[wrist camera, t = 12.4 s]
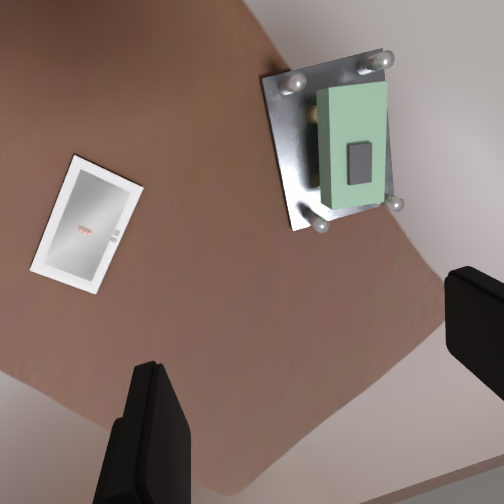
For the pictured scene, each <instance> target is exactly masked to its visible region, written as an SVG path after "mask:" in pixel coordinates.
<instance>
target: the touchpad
mask: <svg viewBox="0 0 504 504" xmlns="http://www.w3.org/2000/svg"><path fill="white" fill-rule="evenodd" d="M142 190H143V187H141V186H139V185H137V184H135V183H132V182H130V181H128V180H126V179H124V178H122V177H120V176H118V175H116V174H113V173H111V172H109V171H107V170H105V169H103V168H101V167H99V166H97V165H95V164H92V163H90V162H88V161H86V160H84V159H82V158H80V157H78V156H76V155H74V157H73V160H72V162H71V165H70V168H69V170H68V173H67V175H66V178H65V181H64V183H63V186H62V188H61V191H60V193H59V196H58V199H57V201H56V204H55V206H54V209H53V212H52V214H51V217H50V219H49V222H48V225H47V227H46V230H45V232H44V235H43V237H42V240H41V243H40V245H39V248H38V250H37V253H36V256H35V258H34V261H33V263H32V266H31V268H30V271H33V272H35V273H38V274H41V275H44V276H46V277H49V278H52V279H55V280H57V281H60V282H63V283H66V284H68V285H71V286H74V287H77V288H79V289H82V290H85V291H88V292H90V293H93V294H96V293H97V291H98V288H99V286H100V284H101V282H102V280H103V277H104V275H105V273H106V271H107V268H108V266H109V264H110V262H111V259H112V257H113V255H114V253H115V251H116V248H117V246H118V244H119V242H120V239H121V237H122V235H123V233H124V231H125V228H126V226H127V224H128V222H129V219H130V217H131V215H132V213H133V210H134V208H135V206H136V204H137V202H138V199H139V197H140V195H141V193H142Z"/></svg>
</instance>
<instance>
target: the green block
mask: <svg viewBox="0 0 504 504" xmlns="http://www.w3.org/2000/svg"><path fill="white" fill-rule="evenodd" d="M387 86H388V81H383V82H374V83H365V84H356V85H348V86H339V87H330V88H325V89H322V90H318V91H316V96H317V122H318V147H319V172H320V197H321V204H323V205H325V206H326V207H328V208H330V209H331V210H335V209H342V208H348V207H354V206H361V205H367V204H374V203H380V202H384V192H385V157H386V123H387V88H388V87H387Z"/></svg>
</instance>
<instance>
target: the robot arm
mask: <svg viewBox="0 0 504 504" xmlns="http://www.w3.org/2000/svg"><path fill="white" fill-rule="evenodd" d="M444 287H445V328H446V346H447V348H448V350H449V352H450V353H451V354H452V355H453V356H454V357H455V358H456V359H457V360H458V361H460V362H461V363H462V364H463V365H464V366H465V367H466V368H467V369H468V370H470V371H471V372H472V373H473V374H474V375H475V376H476V377H478V378H479V379H480V380H481V381H482V382H483V383H484V384H486V386H488V387H489V388H490V389H491V390H492V391H493V392H494V393H496V394H497V395H498V396H499V397H500V398H501V399H502V400H503V401H504V283H502V282H500V281H498V280H496V279H494V278H492V277H490V276H488V275H487V274H485V273H483V272H480V271H479V270H477V269H475V268H473V267H470V266H465V267H462V268H459V269H456V270H452V271H450V272H449V273H448V277H446V278H445V281H444ZM92 504H191V433H190V428H189V425H188V422H187V420H186V418H185V415H184V413H183V411H182V408H181V406H180V404H179V401H178V399H177V396H176V394H175V392H174V389H173V387H172V385H171V382H170V380H169V378H168V375H167V373H166V370H165V368H164V366H163V364H162V363H160V364H156V362H155V361H150V362H147V363H144V364H140V365H137V366H135V368H134V371H133V375H132V379H131V384H130V388H129V392H128V396H127V401H126V405H125V409H124V413H123V417H121V418H117V419H116V420H115V421H114V424H113V426H112V430H111V434H110V438H109V442H108V446H107V449H106V453H105V458H104V461H103V465H102V469H101V473H100V476H99V480H98V484H97V488H96V492H95V495H94V499H93V503H92ZM360 504H504V454H503V455H500V456H497V457H494V458H491V459H488V460H485V461H482V462H479V463H477V464H473V465H471V466H468V467H465V468H462V469H459V470H456V471H453V472H450V473H447V474H444V475H442V476H438V477H436V478H433V479H430V480H427V481H424V482H421V483H418V484H415V485H412V486H409V487H406V488H404V489H401V490H398V491H395V492H392V493H389V494H387V495H383V496H381V497H378V498H375V499H372V500H369V501H366V502H363V503H360Z"/></svg>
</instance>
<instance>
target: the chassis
mask: <svg viewBox="0 0 504 504" xmlns="http://www.w3.org/2000/svg"><path fill="white" fill-rule="evenodd" d="M393 63H394V54H393V53H392V52H391V51H388V50H386V51H384V52H383V49H382V48H381V49H377V50H373V51H369V52H365V53H362V54H358V55H354V56H349V57H346V58H342V59H338V60H334V61H330V62H326V63H322V64H318V65H314V66H310V67H306V68H302V69H298V70H294V71H290V72H286V73H282V74H278V75H274V76H270V77H266V78H262V79H261V84H262V89H263V94H264V99H265V104H266V109H267V114H268V119H269V124H270V129H271V133H272V138H273V143H274V148H275V153H276V158H277V163H278V168H279V173H280V178H281V182H282V187H283V192H284V197H285V202H286V207H287V212H288V217H289V222H290V227H291V229H292V230H293V231H294V230H298V229H301V228H305V227H308V226H312V227H313V228H314V229H315V230H317V231H318V232H319V233H325V232H326V231H327V230H328V229H329V222H328V221H329V220H333V219H336V218H340V217H343V216H347V215H350V214H354V213H357V212H361V211H364V210H368V209H372V208H375V207H379V206H383V207H386V208H388V209H390V210H393V211H395V212H398V211H400V210H402V209H403V207H404V201H403V200H402V199H401V198H398V197H396V196H394V188H393V175H392V163H391V150H390V137H389V125H388V112H387V123H386V157H385V192H384V202H380V203H374V204H367V205H361V206H354V207H348V208H342V209H335V210H331V209H330V208H328V207H326V206H325V205H323V204H321V197H320V172H319V147H318V122H317V96H316V91H318V90H322V89H325V88H330V87H339V86H348V85H356V84H365V83H374V82H383V81H385V74H384V69H387V68H390V67H391V66H392V65H393Z"/></svg>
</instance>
